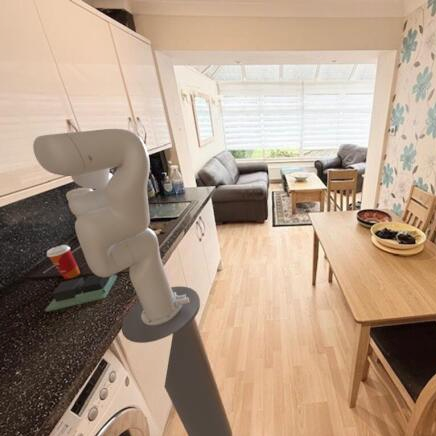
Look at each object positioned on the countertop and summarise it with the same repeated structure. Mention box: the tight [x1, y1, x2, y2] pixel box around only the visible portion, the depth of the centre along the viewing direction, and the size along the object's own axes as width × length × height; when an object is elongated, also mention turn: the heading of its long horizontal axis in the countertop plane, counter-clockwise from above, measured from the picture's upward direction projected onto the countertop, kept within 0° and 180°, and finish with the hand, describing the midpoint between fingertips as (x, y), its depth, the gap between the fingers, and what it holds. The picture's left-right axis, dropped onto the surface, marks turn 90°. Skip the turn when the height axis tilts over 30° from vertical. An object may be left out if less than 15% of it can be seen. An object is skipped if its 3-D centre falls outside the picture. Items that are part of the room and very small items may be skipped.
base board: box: [44, 274, 118, 313], centre depth 95 cm, size 19×14×5 cm
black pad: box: [80, 274, 108, 293], centre depth 96 cm, size 6×6×4 cm
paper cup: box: [46, 244, 81, 280], centre depth 104 cm, size 8×8×14 cm
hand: (112, 262), depth 95 cm, fingers closed
